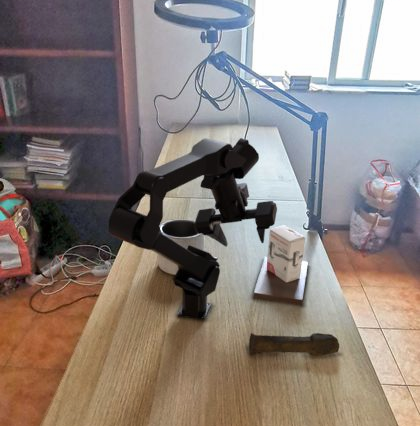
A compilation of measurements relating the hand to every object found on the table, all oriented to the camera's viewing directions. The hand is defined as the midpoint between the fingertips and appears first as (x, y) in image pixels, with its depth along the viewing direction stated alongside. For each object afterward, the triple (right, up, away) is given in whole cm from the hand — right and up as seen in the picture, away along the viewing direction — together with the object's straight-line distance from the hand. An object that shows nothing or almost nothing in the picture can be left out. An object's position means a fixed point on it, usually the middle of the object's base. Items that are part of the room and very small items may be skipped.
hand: (244, 243), depth 118 cm
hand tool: (+9, -25, -14) cm, 30 cm away
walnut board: (+10, -8, +10) cm, 17 cm away
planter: (-16, -4, +15) cm, 22 cm away
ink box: (+11, -7, +10) cm, 16 cm away
